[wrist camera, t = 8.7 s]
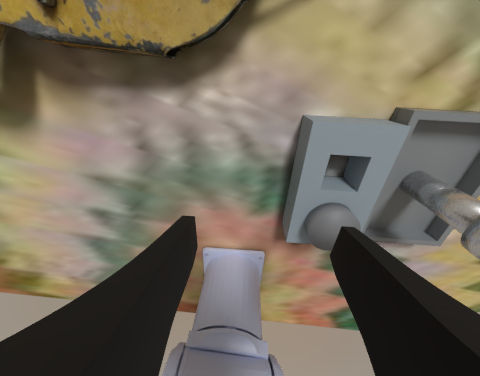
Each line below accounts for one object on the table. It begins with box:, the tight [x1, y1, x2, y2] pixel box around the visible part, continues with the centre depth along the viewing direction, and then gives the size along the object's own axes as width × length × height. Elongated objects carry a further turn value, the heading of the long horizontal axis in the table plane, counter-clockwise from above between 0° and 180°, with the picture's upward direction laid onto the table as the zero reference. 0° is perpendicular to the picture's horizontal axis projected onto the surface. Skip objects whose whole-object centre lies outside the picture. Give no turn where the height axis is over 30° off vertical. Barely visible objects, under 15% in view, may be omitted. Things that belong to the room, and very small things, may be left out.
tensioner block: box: [282, 115, 411, 250], centre depth 17 cm, size 12×7×4 cm, turn 177°
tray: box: [362, 107, 480, 246], centre depth 18 cm, size 13×9×2 cm
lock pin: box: [401, 171, 480, 259], centre depth 15 cm, size 4×4×8 cm
